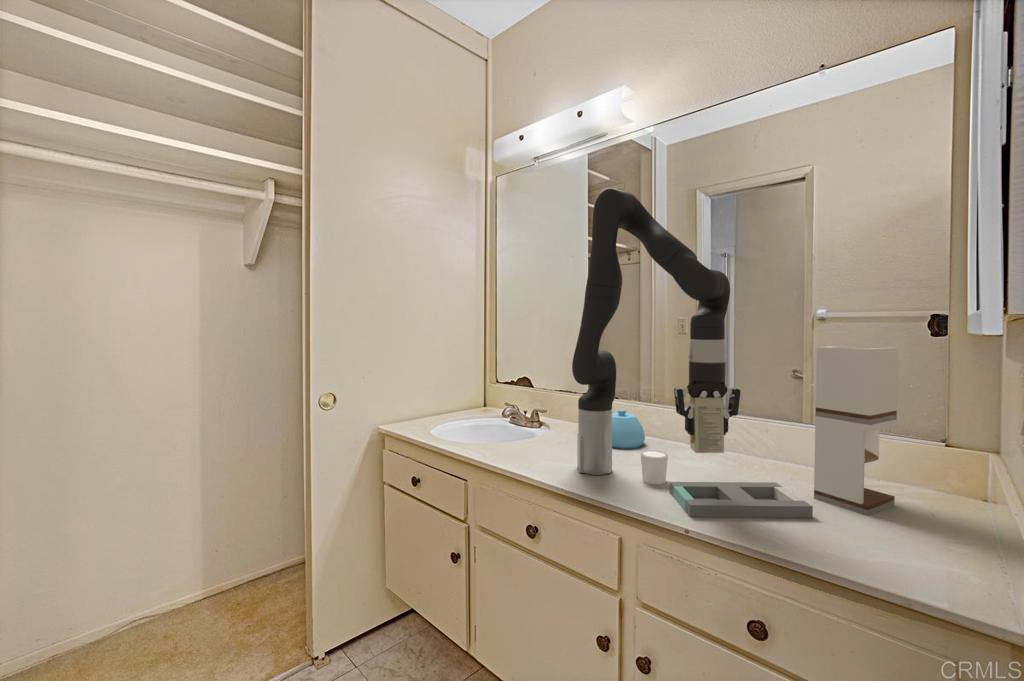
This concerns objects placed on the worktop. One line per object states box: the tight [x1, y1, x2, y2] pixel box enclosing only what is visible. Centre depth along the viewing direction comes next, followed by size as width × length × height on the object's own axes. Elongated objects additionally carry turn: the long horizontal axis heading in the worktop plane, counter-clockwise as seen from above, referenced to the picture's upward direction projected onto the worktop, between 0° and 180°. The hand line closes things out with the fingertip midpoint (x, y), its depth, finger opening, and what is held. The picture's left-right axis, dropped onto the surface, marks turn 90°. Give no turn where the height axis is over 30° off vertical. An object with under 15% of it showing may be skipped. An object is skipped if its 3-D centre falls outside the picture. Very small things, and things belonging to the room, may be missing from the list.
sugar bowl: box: [612, 408, 646, 450], centre depth 152 cm, size 15×15×12 cm
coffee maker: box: [813, 345, 899, 517], centre depth 101 cm, size 11×11×35 cm
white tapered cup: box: [640, 450, 669, 485], centre depth 116 cm, size 7×7×7 cm
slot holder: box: [668, 481, 814, 519], centre depth 101 cm, size 25×14×2 cm, turn 88°
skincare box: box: [689, 395, 725, 454], centre depth 100 cm, size 6×4×12 cm
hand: (706, 434), depth 100 cm, fingers closed on skincare box, 6 cm apart
